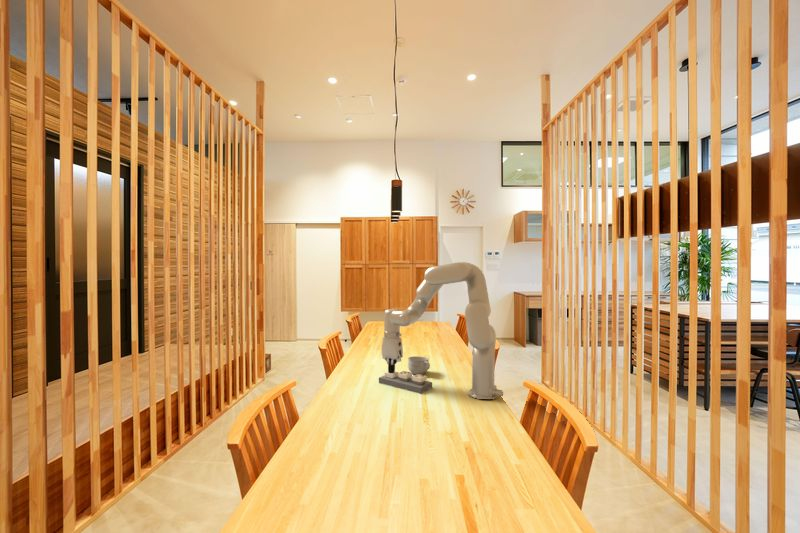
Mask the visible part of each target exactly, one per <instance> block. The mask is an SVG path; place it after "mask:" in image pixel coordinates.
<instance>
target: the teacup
mask: <svg viewBox="0 0 800 533" xmlns="http://www.w3.org/2000/svg"><path fill="white" fill-rule="evenodd" d="M429 360H430V358H428V357H426V356H425V357H424V356H419V355H418V356H409V357H408V362H407V363H408V364H407V366H408V367H407V368H408V370H409V371H408V372H411V373H412V375H413V374H414V375H417V374H420V375H425V373H427V372H428V370H430V368H431V365H430V361H429Z"/></svg>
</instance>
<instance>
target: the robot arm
mask: <svg viewBox="0 0 800 533" xmlns="http://www.w3.org/2000/svg"><path fill="white" fill-rule="evenodd" d="M423 276H424V279H423V281H422V282H420V284H419V285H418V286H417V288H416V289H415V291H416V292H415V293H416V294H415V295H416V296H415V299H414V300H413V302H412V303H411V304H410V306H409V307H408V308H406V309H404V310H399V309H397V308H388V309H385V310H384V318H383V321H384V323H383V324H384V325H383V327H384V328H383V329H384V330H383V334H384V335H383V337H382V341H381V342H382V343H381V356H382V357H381V358H382V359H383V360H385V361H386V364H387V365H388V366H387V369H388V370H387V372H388V373H393V372H395V371H396V364H397V363H399V362H402V358H403V356H404V353H403V352H404V350H403V341H402V337H401V336H402V333H401V331H400V330H401V328H400V327H409V326H411V325H412V324H415V323H416V322H418V321H419V320H420V318H421V317H423V316H422V315H423V314H424V313H425V312H426V310H427V309H428V307H429V305H430V304H431V302H432V300H433V299H434V298H435V296H436V295H437V293H438V292H439V291H440V290H441V288H442V287H443V286H444V285H448V284H455V283H462V282H465V283H466V286H467V296H468V304H467V305H466V307H465V310H464V318H465V325H466V331H467V332H466V334H467V337H468V341H469V344H470V345H471V346H472V360H471V361H472V364H471V365H472V368H471V370H472V371H471V372H472V374H471V375H472V378H471V379H472V380H471V389H469V390H468V395H469V397H471V398H473V399H475V398H477V399H476V400H479V399H493V398H496V397H497V398H499V396H500V397H503V396H504V391H503V390H502V389H498V388H497V385H495V365H496V364H495V359H496V358H495V357H496V356H495V355H496V341H497V338H496V337H497V335H496V330H495V329H494V326H492V325H491V324H490V320H489V317H490V316H491V312H492V311H491V305H490V297H489V291H488V287H487V281H486V278H485V274H484V273H483V270H481V269H480V268H479V267H478V266H477V265H475V264H472V263H470V262H466V261H461V262H459V261H458V262H452V263H446V264H441V265H434V266H433V265H432V266H430V267H428V268H427V269H426V270H425V272H424V275H423ZM497 398H496V399H497ZM493 400H494V399H493Z"/></svg>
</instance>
